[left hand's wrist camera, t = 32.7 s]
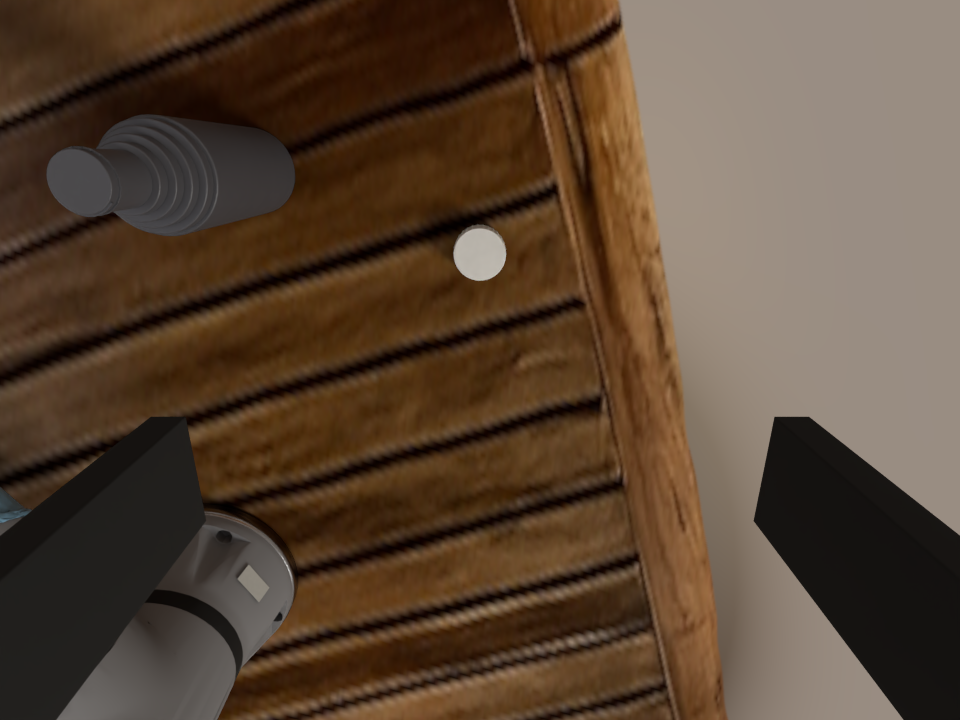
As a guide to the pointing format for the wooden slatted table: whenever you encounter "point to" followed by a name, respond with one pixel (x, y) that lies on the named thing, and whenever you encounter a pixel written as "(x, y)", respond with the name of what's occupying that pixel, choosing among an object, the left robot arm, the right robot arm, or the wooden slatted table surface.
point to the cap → (479, 252)
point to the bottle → (174, 174)
